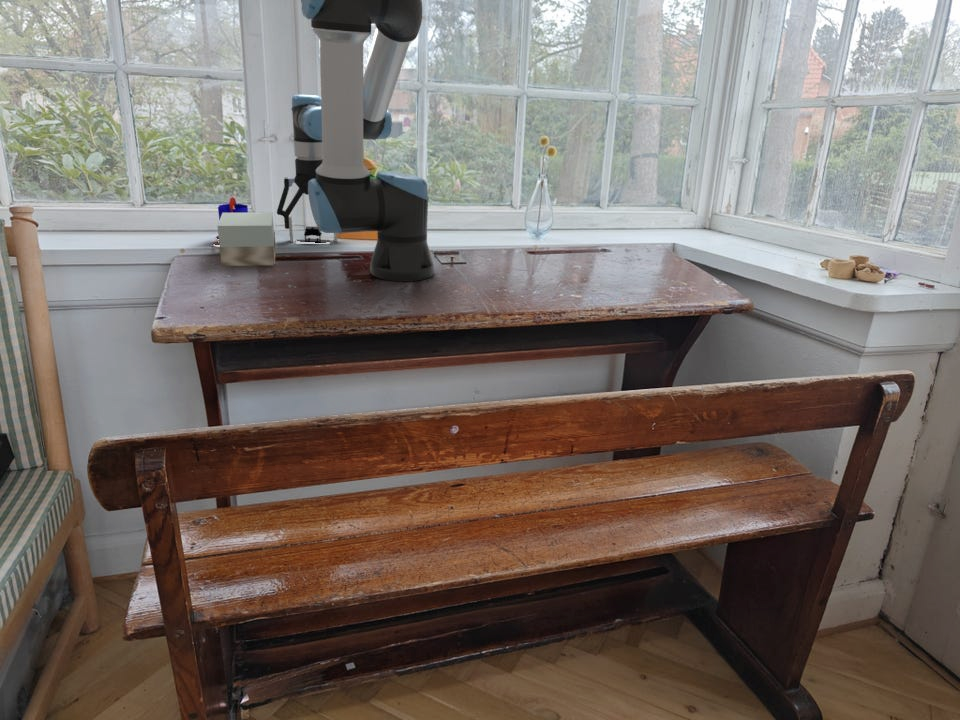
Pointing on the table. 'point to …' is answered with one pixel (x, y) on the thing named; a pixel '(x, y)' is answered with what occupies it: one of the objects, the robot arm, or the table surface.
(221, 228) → the top block
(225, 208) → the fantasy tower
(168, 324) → the table surface
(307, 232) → the build plate
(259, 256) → the base block
